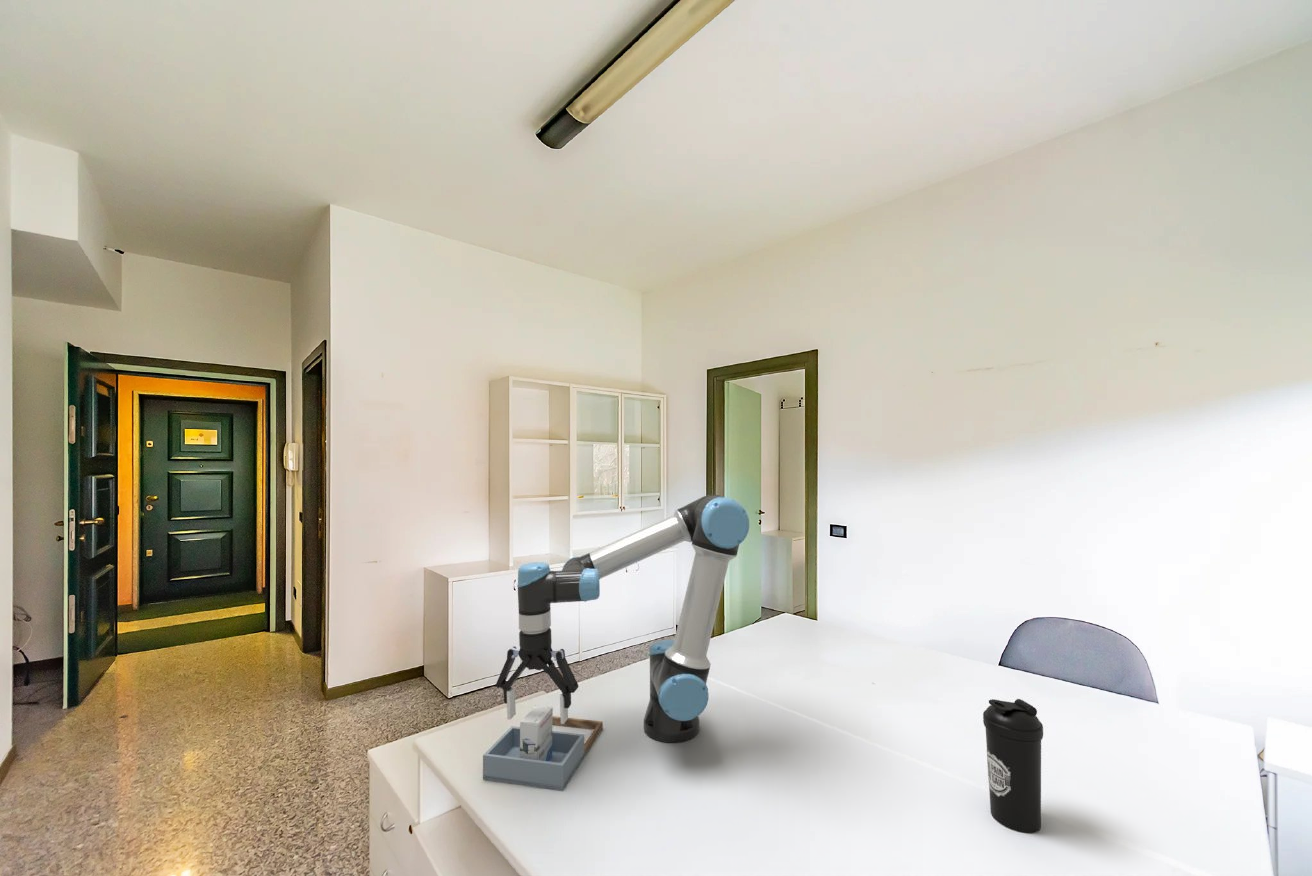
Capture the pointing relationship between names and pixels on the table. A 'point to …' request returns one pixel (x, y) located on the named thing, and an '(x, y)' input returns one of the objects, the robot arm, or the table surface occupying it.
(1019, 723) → the water bottle
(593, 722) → the walnut frame
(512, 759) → the grey bin
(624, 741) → the table surface
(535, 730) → the ink box
